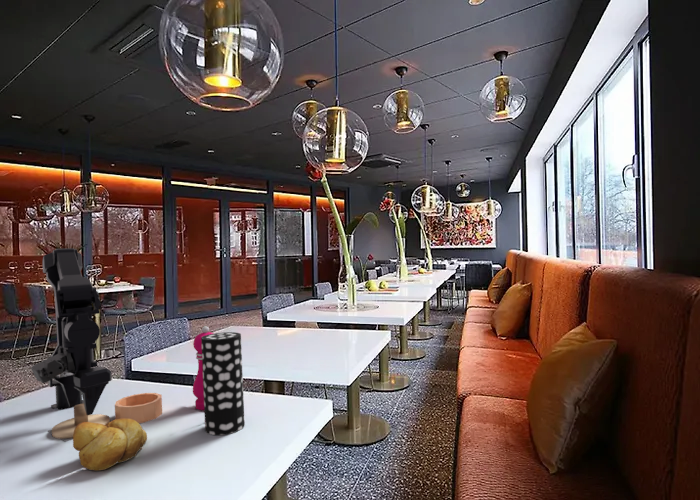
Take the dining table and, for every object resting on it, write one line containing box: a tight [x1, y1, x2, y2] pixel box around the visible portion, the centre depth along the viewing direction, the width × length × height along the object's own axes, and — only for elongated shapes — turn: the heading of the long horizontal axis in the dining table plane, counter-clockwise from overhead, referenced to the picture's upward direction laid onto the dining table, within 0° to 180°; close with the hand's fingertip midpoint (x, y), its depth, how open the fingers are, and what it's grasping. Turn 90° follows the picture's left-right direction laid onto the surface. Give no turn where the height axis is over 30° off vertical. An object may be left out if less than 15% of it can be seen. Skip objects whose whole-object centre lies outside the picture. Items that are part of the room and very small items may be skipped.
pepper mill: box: [192, 325, 215, 411], centre depth 112 cm, size 7×7×20 cm
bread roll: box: [72, 418, 148, 471], centre depth 85 cm, size 13×10×8 cm
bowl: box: [114, 392, 163, 424], centre depth 105 cm, size 10×10×4 cm
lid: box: [51, 404, 111, 440], centre depth 99 cm, size 11×11×5 cm
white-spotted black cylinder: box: [201, 331, 246, 436], centre depth 98 cm, size 8×8×20 cm
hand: (80, 410), depth 99 cm, fingers open, 9 cm apart
